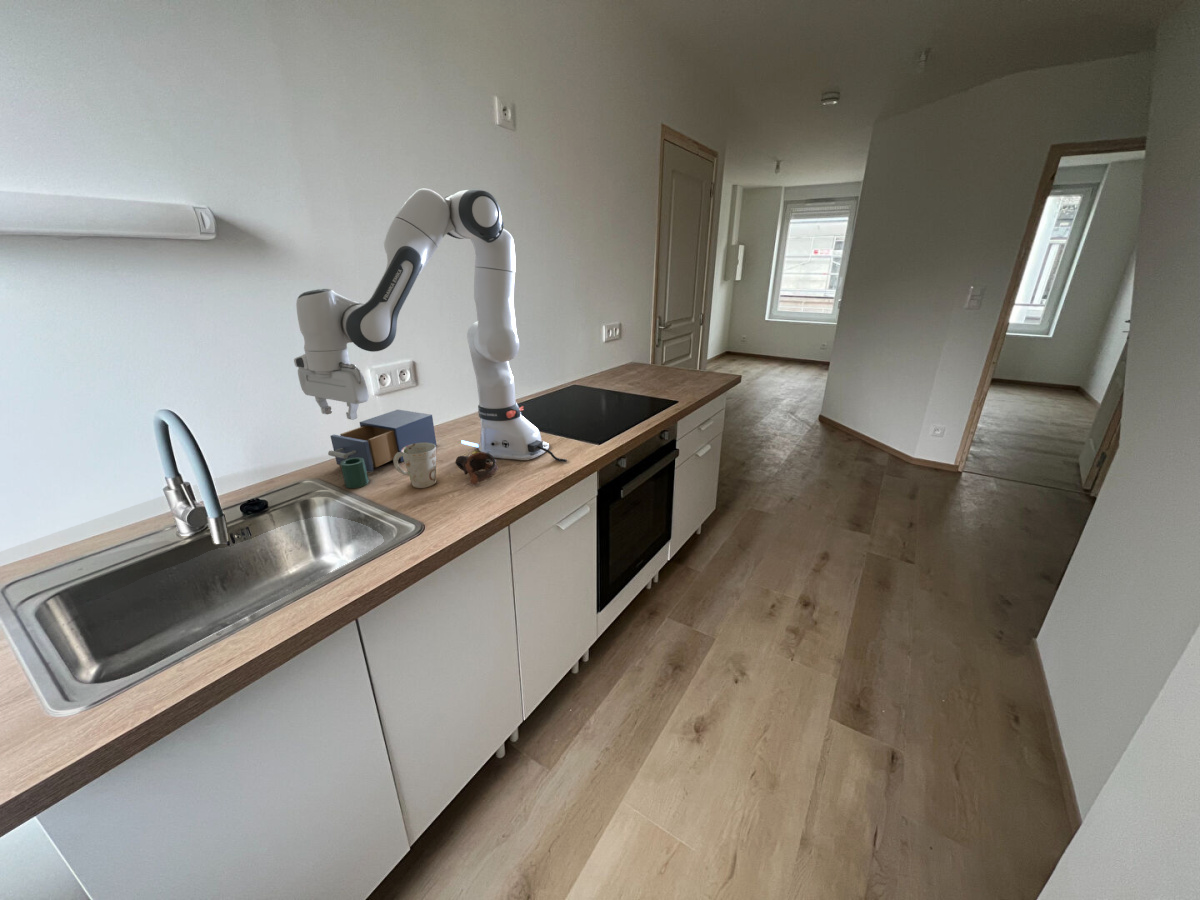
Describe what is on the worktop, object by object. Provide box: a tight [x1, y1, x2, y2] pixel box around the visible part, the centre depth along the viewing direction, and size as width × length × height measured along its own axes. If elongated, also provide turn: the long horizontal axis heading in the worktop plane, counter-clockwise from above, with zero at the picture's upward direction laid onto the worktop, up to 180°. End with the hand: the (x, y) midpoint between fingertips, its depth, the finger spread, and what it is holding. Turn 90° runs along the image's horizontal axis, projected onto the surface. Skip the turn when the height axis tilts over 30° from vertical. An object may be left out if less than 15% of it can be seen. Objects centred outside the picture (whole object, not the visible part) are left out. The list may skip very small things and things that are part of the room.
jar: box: [340, 457, 369, 489], centre depth 118 cm, size 5×5×6 cm
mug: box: [392, 443, 437, 489], centre depth 118 cm, size 8×13×10 cm, turn 78°
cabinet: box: [359, 409, 438, 463], centre depth 140 cm, size 15×15×11 cm
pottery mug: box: [455, 451, 500, 486], centre depth 122 cm, size 12×10×8 cm
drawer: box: [327, 426, 398, 473], centre depth 129 cm, size 18×13×9 cm
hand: (339, 416), depth 113 cm, fingers open, 8 cm apart
